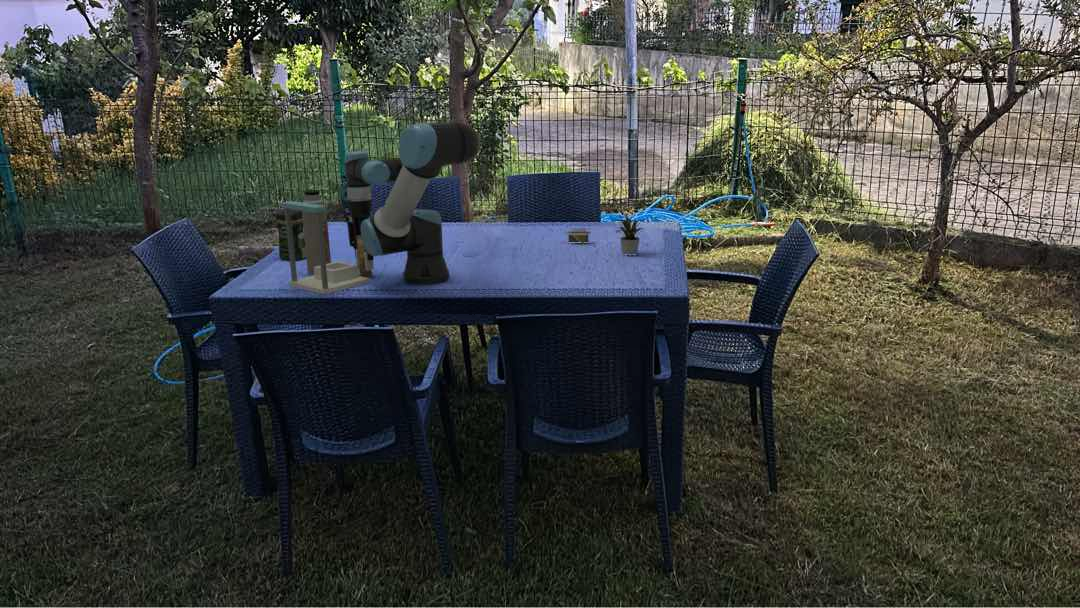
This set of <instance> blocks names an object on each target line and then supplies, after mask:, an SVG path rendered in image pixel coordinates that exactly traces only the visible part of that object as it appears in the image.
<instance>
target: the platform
mask: <svg viewBox="0 0 1080 608" xmlns="http://www.w3.org/2000/svg"><path fill="white" fill-rule="evenodd" d="M565 234H566V235H568V243H569V242H581V243H584V242H588V243H589V236H590V235H591V234H592V231H587V228H580V227H579V228H573V227H572V231H565Z"/></svg>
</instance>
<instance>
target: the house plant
mask: <svg viewBox="0 0 1080 608" xmlns="http://www.w3.org/2000/svg"><path fill="white" fill-rule="evenodd" d="M614 214H615V215H617V216H619V217H617V216H615V218H616V219H612V220H616V221H617V222H618V223H619V225H620V227H618V229H616V228H613V229H615V230H616V231H615V234H616V233H618V232H619V233H620V234H621V235H623V236H622V237H620V245H621V251H622V255H623V254H630V255H631V254H636V253H638V250H639V245H640V239H641V238H640V237H638V235H639V234H640V233H642V232H643V230H644V229H646V227H645V228H644V227H641V228H638V227H639V225H640V224H641V223H642V222H643V221H644V220H645V219H648V216H646V217H644V218H643V219H642V220H641V221H640V222H639V220H640V215H639V216H638V217H637V219H636V220H635V221H633V223H632V218H633V216H634V214H631V216H630V218H629V217H628V215H627V213H626V212H625V213H624V215H625V219H624V218H623V217H622V216H621V215H620V214H618V213H614ZM617 219H618V220H617ZM638 222H639V223H638ZM631 224H632V225H631ZM640 230H641V231H640ZM639 231H640V232H639ZM622 232H623V233H622ZM637 233H638V234H637ZM636 234H637V235H636Z"/></svg>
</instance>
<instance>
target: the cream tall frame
mask: <svg viewBox="0 0 1080 608" xmlns="http://www.w3.org/2000/svg"><path fill="white" fill-rule="evenodd" d="M280 208H282V209H284V210H285V219H286V229H287V238H288V247H289V257H290V260H289V263H290V274H291V280H290V281H288V285H289V287H291V286H292V287H291V288H295V287H296V288H295V289H299V290H303V291H307V292H311V293H316V294H319V295H328V294H332V293H336V292H340V291H343V290H346V289H347V288H348V289H350V287H351V288H354V286H355V287H358V285H359V286H362V285H361V284H363V285H366V284H365V283H367V284H370V283H369V282H370V277H361V276H360V274H359V269H358V265H357V264H354V263H348V262H344V261H339V260H338V261H334V262H331V263H329V264H326V259H325V248H324V238H323V227H322V216H321V212H324V211H326V212H328V207H327V205H324V206H323V205H316V204H309V203H303V202H299V201H293V200H291V201H282V202H280ZM290 209H294V210H301V211H307V212H314V213H315V214H316V224H317V235H318V245H319V256H320V266H316V267H314V275H309V276H306V277H302V278H298V275H297V264H296V260H295V252H294V243H293V233H292V224H291V214H290Z"/></svg>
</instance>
